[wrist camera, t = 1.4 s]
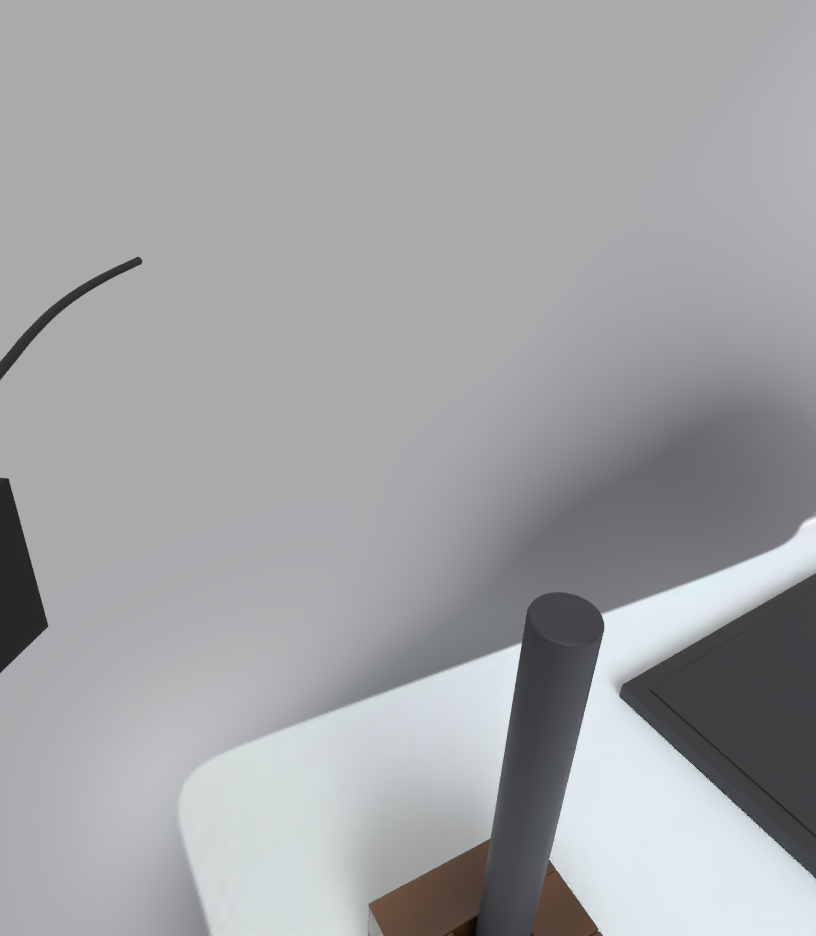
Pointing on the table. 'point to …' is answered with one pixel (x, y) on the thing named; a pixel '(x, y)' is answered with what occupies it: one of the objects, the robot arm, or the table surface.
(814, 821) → the dark grey flat block
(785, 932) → the table surface
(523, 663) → the stylus
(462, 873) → the pen stand
